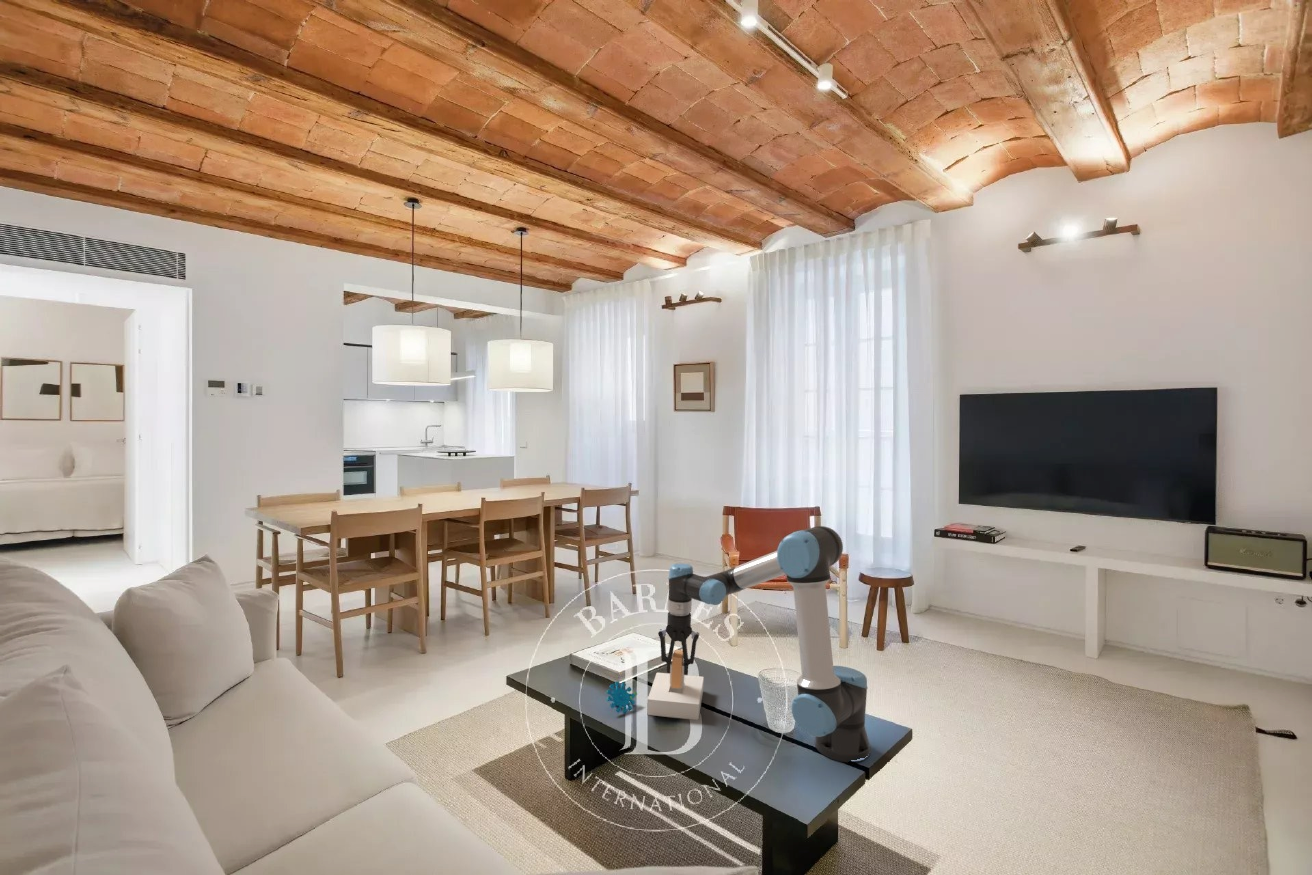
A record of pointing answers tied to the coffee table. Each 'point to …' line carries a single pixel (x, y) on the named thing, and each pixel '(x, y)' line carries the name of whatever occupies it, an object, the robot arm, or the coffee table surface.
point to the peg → (677, 669)
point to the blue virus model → (621, 697)
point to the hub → (675, 697)
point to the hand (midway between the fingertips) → (676, 682)
